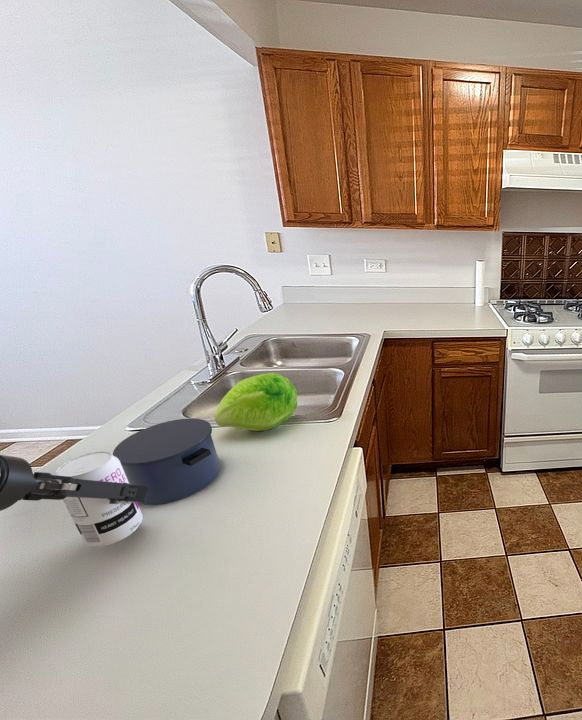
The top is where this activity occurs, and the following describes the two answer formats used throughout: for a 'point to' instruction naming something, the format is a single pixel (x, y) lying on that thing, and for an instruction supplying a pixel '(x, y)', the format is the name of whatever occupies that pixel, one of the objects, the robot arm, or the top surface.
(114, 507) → the supplement can
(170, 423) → the pot
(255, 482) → the top surface
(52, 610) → the top surface
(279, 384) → the lettuce
